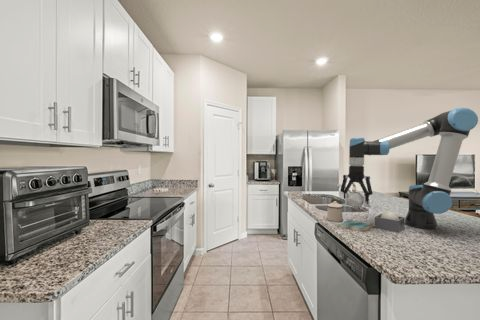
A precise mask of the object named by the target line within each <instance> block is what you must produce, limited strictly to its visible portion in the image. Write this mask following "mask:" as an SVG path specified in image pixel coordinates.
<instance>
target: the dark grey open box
mask: <svg viewBox="0 0 480 320" xmlns="http://www.w3.org/2000/svg"><path fill="white" fill-rule="evenodd" d="M381 215H382V213H379V214H378V215H376V216H374V229H378V230H383V231H387V232H388V231H389V232H394V233H399V234H400V232H401V231H403V230H405V218H406V216H398V217H399V220H398V221H397V220H391V219H385V218H380V217H381Z"/></svg>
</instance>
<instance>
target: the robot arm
mask: <svg viewBox="0 0 480 320" xmlns="http://www.w3.org/2000/svg"><path fill="white" fill-rule="evenodd" d="M478 123H479V117H478V115H477V113H476V112H475V111H474V110H473V109H471V108H468V107H457V108H453V109H450V110H449V111H444V112H441V113H440V114H438V115H436V116H434V117H432V118H429V119H426V120H424V121H423V122H422V123H420V124H418V125H415V126H412V127H410V128H406V129H403V130H401V131H398V132H394V133H393V134H391V135H390V134H389V135H387V136H384V137H381V138H378V139H376V140H373V141H370V140H369V141H366V139H365V137H351V138H350V139H349V149H348V150H349V151H348V153H349V154H348V155H349V157H348V159H349V160H348V165H349V166H348V174H343V177H342V178H343V179H342V184H341V188H340V190H339V191H340V192H341V193H343V200H344V202H345V203H344V205H345V206H348V205H349V203H348V201H347V198H348V196H349V194H350V192H349V190H350V188H351V186H352V185H353V183H357V184H359V186H360V187H361V189H362V192H363V193H364V195H363V197H364V200H363V205H362V207H363V208H364V209H366V208H367V204H368V202H369V200H370V199H369V197H370V196H372V195H373V194H374V193H373V189H372V185H371V176H367V175H365V174H364V173H365V166H364V165H365V156H388V155H389V153H390V149H394V148H397V147H400V146H403V145H406V144H409V143H411V142H415V141H418V140H420V139H424V138H427V137H430V138H432V137H436V136H440V141H439V144H438V146H437V151H436V153H435V154H436V155H435V157H434V161H433V163H432V167H431V171H430V174H429V177H428V181H427V182H425V183H423V184H411V185H409V187H408V212H407V213H406V215H405V218H404V225H407V226H410V227H413V228H416V229H417V228H418V229H426V230H434V229H435V230H436V229H437V228H438V222H437V219H436V216H435V214H436V215H439V214H441V215H442V214H444V213H447V212H448V211H449V210H450V209H451V208H452V206H453V199H452V197H451V194H452V193H451V192H452V189H451V187H450V186H449V185H450V183H451V179H452V177H453V173H454V170H455V167H456V164H457V160H458V157H459V153H460V151H461V147H462V144H463V141H464V140H465V139H467V138H468V137H469V135H470V132H471V130H473V129H475V128H476V126H477V125H478ZM348 178H349V181H348ZM364 180H365V183H366V184H365V183H364ZM347 181H348V183H347ZM348 192H349V193H348Z"/></svg>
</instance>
